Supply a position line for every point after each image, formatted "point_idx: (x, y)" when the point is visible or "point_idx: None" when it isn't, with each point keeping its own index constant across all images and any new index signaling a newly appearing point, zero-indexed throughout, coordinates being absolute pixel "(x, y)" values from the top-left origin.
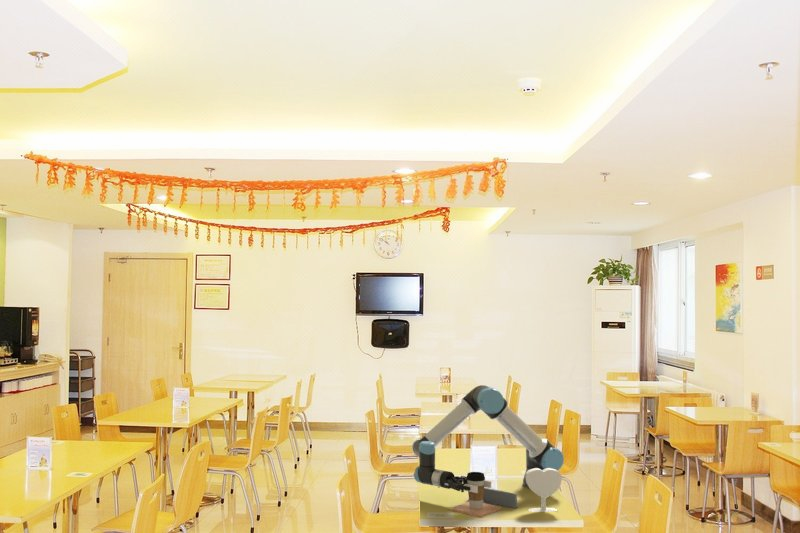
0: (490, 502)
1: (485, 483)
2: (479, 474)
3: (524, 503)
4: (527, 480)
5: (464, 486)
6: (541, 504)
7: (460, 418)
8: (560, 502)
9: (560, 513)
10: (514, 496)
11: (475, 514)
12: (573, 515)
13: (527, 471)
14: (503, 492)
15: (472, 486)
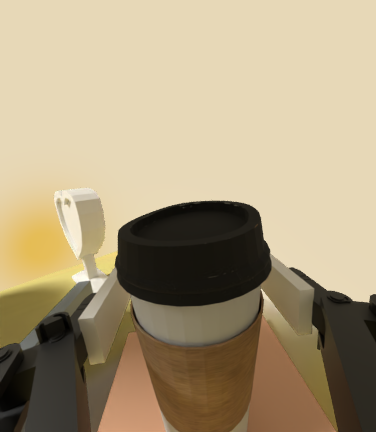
0: None
1: (122, 288)
2: (147, 233)
3: (24, 333)
4: (103, 215)
5: (321, 287)
6: (89, 272)
7: None
8: (10, 290)
9: (107, 262)
10: (90, 288)
11: (276, 339)
12: (111, 253)
13: (78, 197)
14: None
15: (270, 256)
